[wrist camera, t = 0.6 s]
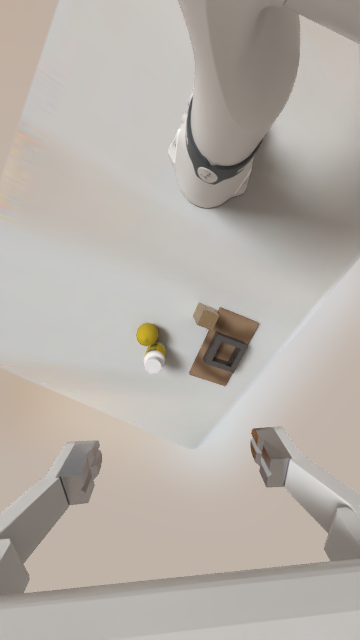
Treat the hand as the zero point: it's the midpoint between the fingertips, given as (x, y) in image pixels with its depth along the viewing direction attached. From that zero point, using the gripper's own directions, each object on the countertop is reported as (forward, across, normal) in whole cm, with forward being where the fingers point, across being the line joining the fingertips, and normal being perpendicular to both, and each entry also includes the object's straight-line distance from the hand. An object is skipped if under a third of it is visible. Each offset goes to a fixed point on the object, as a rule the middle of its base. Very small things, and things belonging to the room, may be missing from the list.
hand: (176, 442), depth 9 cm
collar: (+38, -14, +15) cm, 43 cm away
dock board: (+40, -14, +14) cm, 44 cm away
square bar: (+40, -8, +3) cm, 41 cm away
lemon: (+40, +7, +7) cm, 41 cm away
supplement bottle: (+40, +5, +14) cm, 42 cm away
